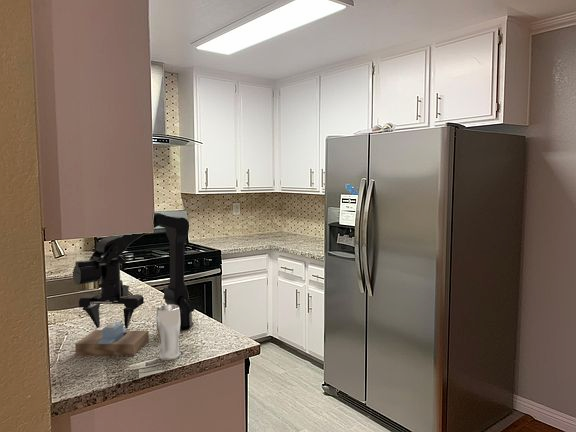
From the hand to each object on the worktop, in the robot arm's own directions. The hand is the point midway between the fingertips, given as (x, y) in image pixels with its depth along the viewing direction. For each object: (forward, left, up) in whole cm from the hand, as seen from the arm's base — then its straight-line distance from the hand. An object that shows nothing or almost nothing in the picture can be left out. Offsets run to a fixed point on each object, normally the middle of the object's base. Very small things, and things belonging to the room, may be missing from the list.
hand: (112, 327), depth 137 cm
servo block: (0, 0, -6) cm, 7 cm away
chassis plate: (0, 0, -6) cm, 7 cm away
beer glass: (-20, +6, -7) cm, 22 cm away
